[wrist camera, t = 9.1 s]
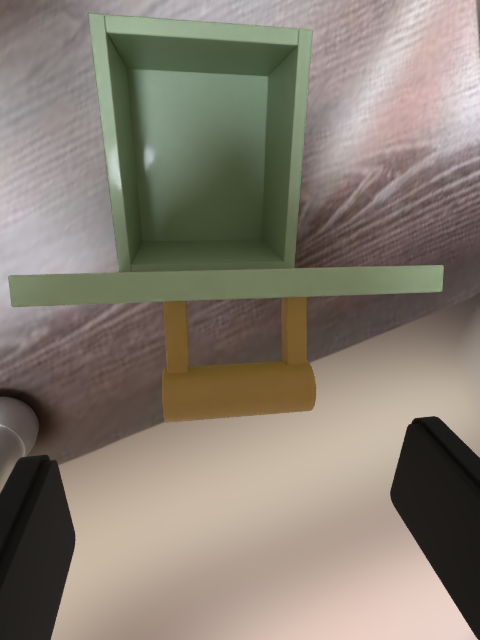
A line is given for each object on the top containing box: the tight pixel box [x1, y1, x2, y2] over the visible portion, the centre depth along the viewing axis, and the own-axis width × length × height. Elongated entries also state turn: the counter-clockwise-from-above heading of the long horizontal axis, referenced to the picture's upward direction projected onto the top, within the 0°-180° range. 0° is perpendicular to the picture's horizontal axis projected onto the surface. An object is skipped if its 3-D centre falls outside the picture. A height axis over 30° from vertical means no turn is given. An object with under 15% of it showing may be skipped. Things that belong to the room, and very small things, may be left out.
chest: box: [88, 13, 313, 272], centre depth 26 cm, size 14×12×9 cm
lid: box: [8, 265, 443, 422], centre depth 18 cm, size 15×12×5 cm
